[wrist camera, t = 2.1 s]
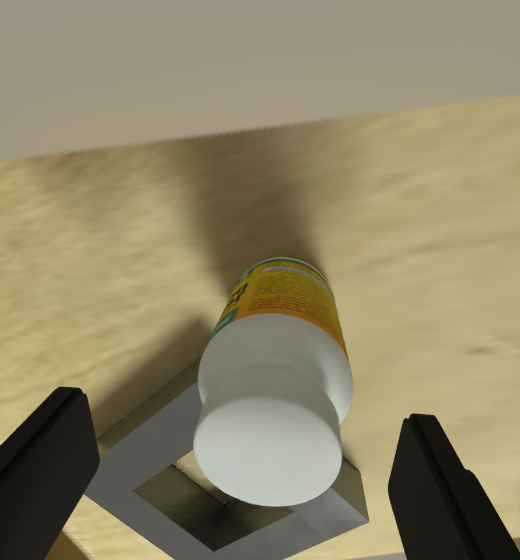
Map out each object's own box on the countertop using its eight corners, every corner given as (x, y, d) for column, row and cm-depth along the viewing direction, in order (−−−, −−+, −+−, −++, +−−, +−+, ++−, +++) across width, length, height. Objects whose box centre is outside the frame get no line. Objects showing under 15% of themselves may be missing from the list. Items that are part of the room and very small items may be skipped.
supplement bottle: (317, 354, 19) (334, 545, 10) (225, 331, 19) (158, 499, 10) (347, 267, 16) (403, 408, 8) (243, 242, 17) (178, 352, 8)
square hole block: (219, 341, 19) (205, 375, 16) (360, 473, 22) (369, 522, 19) (94, 442, 23) (66, 481, 21) (224, 541, 26) (215, 589, 23)
